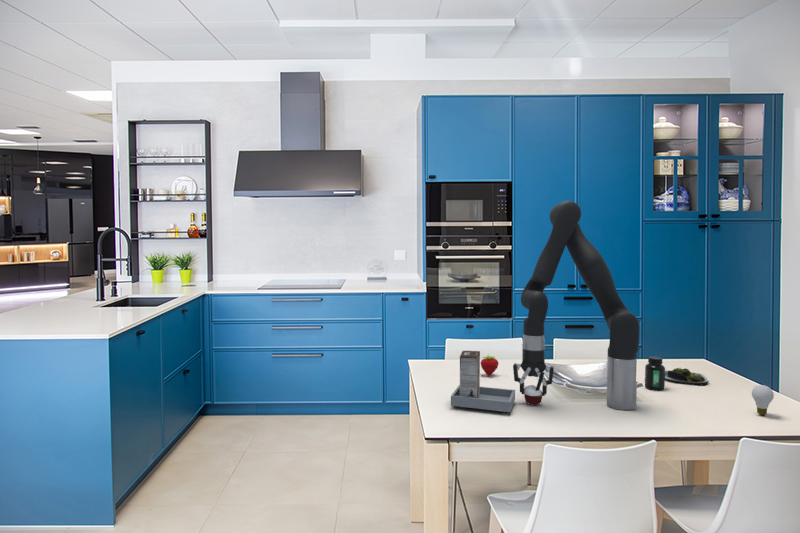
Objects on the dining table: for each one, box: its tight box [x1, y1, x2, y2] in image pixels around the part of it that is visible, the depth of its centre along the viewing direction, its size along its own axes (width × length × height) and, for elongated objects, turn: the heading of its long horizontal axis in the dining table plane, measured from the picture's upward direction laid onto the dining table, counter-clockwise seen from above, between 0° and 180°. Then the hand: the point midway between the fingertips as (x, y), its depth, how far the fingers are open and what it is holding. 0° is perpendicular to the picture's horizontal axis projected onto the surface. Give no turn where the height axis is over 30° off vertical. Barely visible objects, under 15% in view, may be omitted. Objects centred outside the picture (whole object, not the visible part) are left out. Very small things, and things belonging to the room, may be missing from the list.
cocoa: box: [523, 371, 545, 406], centre depth 178 cm, size 10×6×12 cm, turn 3°
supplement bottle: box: [644, 356, 666, 392], centre depth 196 cm, size 7×7×12 cm
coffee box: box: [459, 350, 481, 398], centre depth 178 cm, size 9×6×16 cm
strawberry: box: [480, 353, 499, 377], centre depth 214 cm, size 6×8×10 cm
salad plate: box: [665, 367, 709, 387], centre depth 211 cm, size 19×18×5 cm
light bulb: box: [751, 384, 775, 416], centre depth 167 cm, size 6×6×10 cm
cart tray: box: [450, 384, 516, 414], centre depth 177 cm, size 20×14×4 cm
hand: (533, 394), depth 178 cm, fingers closed on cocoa, 6 cm apart
